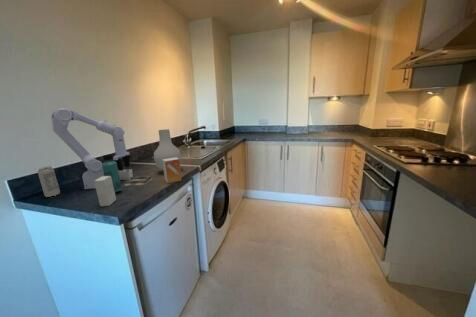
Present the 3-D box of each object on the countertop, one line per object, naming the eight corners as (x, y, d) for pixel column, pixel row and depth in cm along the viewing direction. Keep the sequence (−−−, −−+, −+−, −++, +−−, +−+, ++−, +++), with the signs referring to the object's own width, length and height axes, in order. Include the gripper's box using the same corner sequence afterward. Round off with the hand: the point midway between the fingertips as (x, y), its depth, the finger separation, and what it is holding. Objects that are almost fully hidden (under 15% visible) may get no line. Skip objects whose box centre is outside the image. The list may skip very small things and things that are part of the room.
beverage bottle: (109, 192, 104) (100, 154, 99) (123, 189, 107) (116, 152, 102) (106, 196, 98) (97, 157, 94) (121, 193, 101) (114, 155, 96)
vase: (187, 168, 140) (182, 128, 133) (172, 176, 125) (166, 131, 118) (166, 167, 145) (161, 128, 138) (150, 174, 130) (143, 131, 123)
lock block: (118, 180, 123) (116, 171, 121) (122, 178, 127) (120, 169, 125) (130, 179, 123) (128, 171, 122) (133, 177, 127) (131, 169, 125)
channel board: (124, 186, 112) (123, 181, 111) (132, 180, 120) (131, 176, 120) (146, 184, 112) (145, 180, 111) (152, 179, 121) (151, 175, 120)
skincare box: (107, 200, 94) (101, 176, 91) (116, 199, 94) (111, 175, 91) (99, 206, 88) (93, 180, 85) (109, 205, 88) (104, 180, 85)
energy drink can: (57, 192, 107) (49, 165, 103) (63, 194, 104) (55, 166, 101) (43, 197, 102) (34, 168, 98) (48, 199, 99) (39, 170, 96)
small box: (167, 183, 112) (164, 161, 109) (164, 180, 117) (161, 159, 114) (182, 180, 116) (179, 158, 113) (178, 177, 121) (176, 156, 118)
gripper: (120, 148, 113) (124, 171, 116) (132, 144, 127) (136, 165, 130) (107, 149, 113) (112, 172, 116) (121, 145, 127) (125, 165, 130)
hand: (124, 168), depth 123 cm, fingers open, 7 cm apart
